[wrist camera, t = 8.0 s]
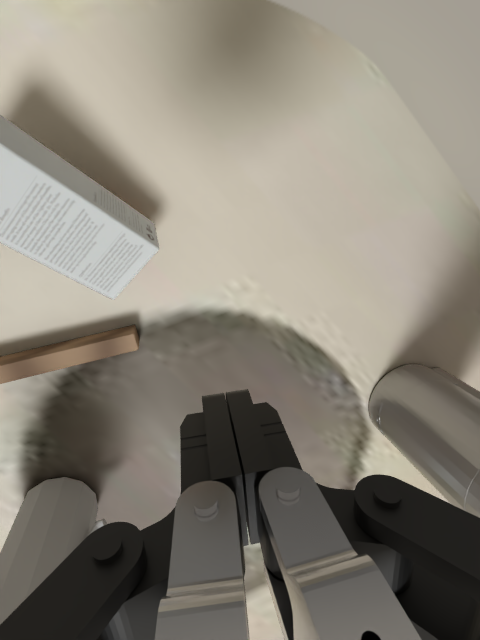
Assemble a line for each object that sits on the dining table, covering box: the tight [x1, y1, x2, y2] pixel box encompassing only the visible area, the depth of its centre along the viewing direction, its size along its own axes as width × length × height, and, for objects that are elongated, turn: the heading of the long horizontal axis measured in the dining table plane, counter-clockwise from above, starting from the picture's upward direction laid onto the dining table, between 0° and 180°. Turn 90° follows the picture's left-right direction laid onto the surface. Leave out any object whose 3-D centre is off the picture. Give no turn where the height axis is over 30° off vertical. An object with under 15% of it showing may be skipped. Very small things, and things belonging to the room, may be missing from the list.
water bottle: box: [0, 477, 107, 624], centre depth 26 cm, size 9×8×25 cm
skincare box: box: [0, 115, 159, 300], centre depth 26 cm, size 6×4×12 cm
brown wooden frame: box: [0, 325, 140, 384], centre depth 29 cm, size 18×14×2 cm
